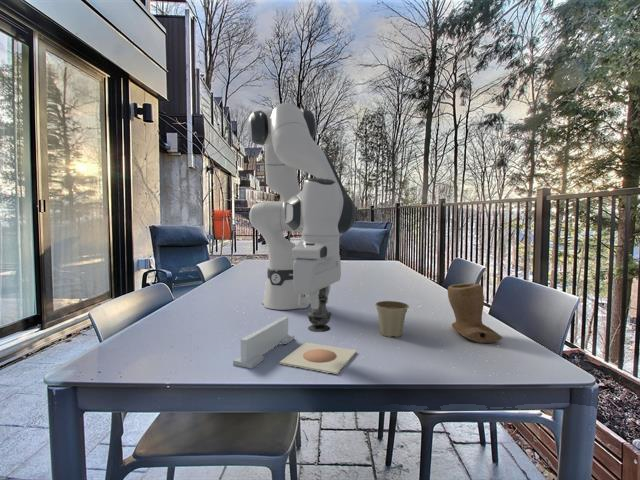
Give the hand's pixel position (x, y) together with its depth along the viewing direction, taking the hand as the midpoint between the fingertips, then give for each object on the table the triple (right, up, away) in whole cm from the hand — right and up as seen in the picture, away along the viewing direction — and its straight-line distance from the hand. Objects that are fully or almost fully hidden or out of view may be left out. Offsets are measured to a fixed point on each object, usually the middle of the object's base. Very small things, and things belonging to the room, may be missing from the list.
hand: (319, 306), depth 86 cm
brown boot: (+43, -12, +19) cm, 49 cm away
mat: (0, -13, +1) cm, 13 cm away
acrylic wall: (-13, -12, +5) cm, 19 cm away
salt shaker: (0, -6, 0) cm, 6 cm away
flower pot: (+21, -12, +19) cm, 31 cm away
